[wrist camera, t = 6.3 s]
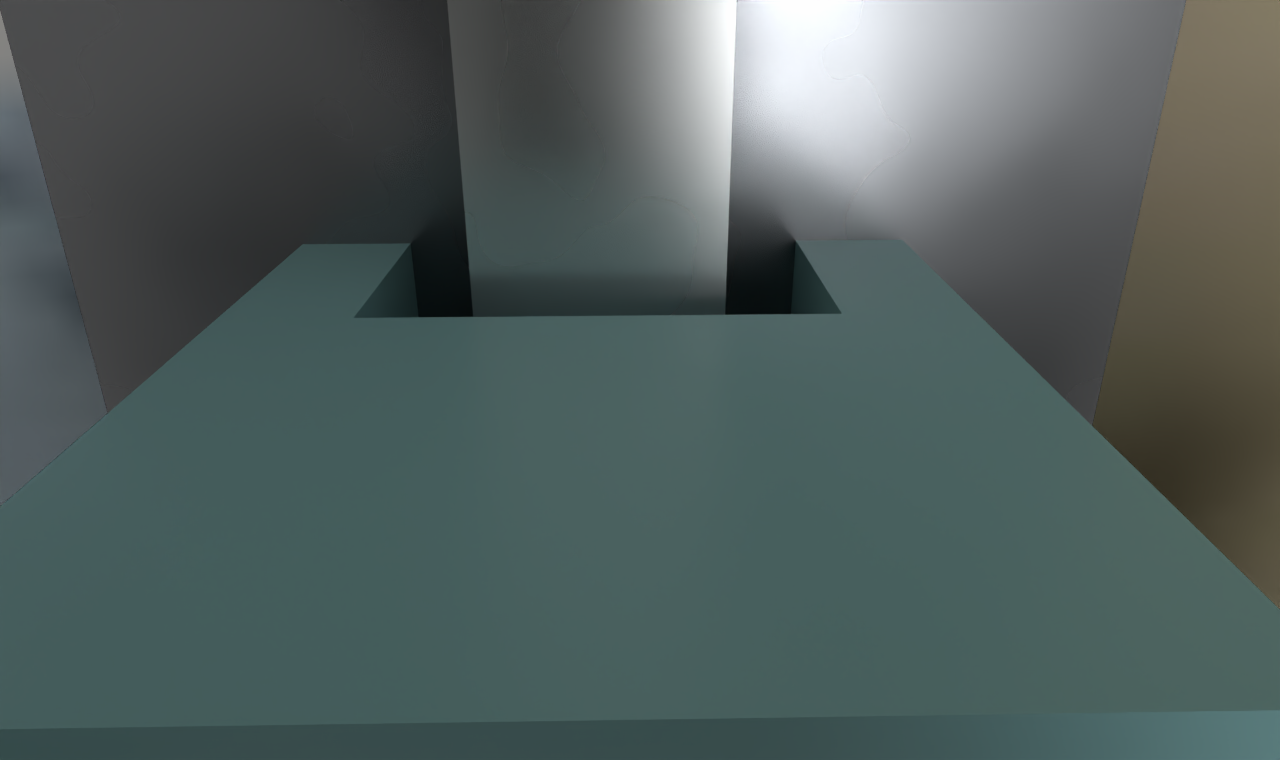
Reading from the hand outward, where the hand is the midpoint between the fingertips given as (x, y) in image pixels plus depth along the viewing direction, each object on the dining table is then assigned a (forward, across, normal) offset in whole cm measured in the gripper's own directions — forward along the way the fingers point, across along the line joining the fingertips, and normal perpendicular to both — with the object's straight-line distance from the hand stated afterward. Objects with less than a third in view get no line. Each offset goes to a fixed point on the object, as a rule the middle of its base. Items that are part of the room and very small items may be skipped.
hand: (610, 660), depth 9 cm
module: (+2, 0, 0) cm, 2 cm away
